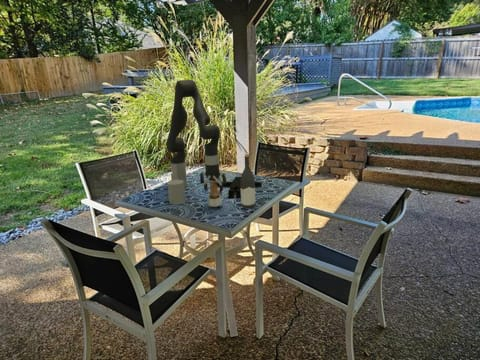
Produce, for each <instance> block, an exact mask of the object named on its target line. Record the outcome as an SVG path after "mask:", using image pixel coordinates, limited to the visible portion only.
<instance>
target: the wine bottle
mask: <svg viewBox="0 0 480 360" xmlns="http://www.w3.org/2000/svg"><path fill="white" fill-rule="evenodd" d="M240 177H241V180H240V184H241V198H240V205H241V207H243V208H247V209H250V208H254V207H255V205H256V187H255V182H256V180H255V176H254V173H253V171H252V169H251V167H250V154H249V153H245V154H244V168H243V171H242V173H241V176H240Z"/></svg>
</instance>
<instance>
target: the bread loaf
mask: <svg viewBox="0 0 480 360" xmlns="http://www.w3.org/2000/svg"><path fill="white" fill-rule="evenodd" d="M217 188H218V186H217V181H209V193H210V194H209V195H210V196H211V199H215V198H218V192H217Z"/></svg>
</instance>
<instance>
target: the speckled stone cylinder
mask: <svg viewBox="0 0 480 360" xmlns="http://www.w3.org/2000/svg"><path fill="white" fill-rule="evenodd" d="M166 183H167V192H168V199H169V200H168V201H169V204H170V205H175V206H176V205H182V204H184V203H185V202H187V201H186V193H185V188H184V181H183V180H179V179H177V180H172V179H171V180H169V181H167V182H166Z"/></svg>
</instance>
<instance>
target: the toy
mask: <svg viewBox="0 0 480 360" xmlns="http://www.w3.org/2000/svg"><path fill="white" fill-rule="evenodd" d="M240 180H241V176H235V177H234V179H232V181H226V183H225V185H223V188H229V189H228V190H227V191H228V192H227V194H228V199H234V198H236V199H241V184H240ZM216 182H217V181H216ZM262 186H263V184H262V182H260V181H255V188H260V187H262ZM217 187H218V188H220V184H219V183H218V182H217Z"/></svg>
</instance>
